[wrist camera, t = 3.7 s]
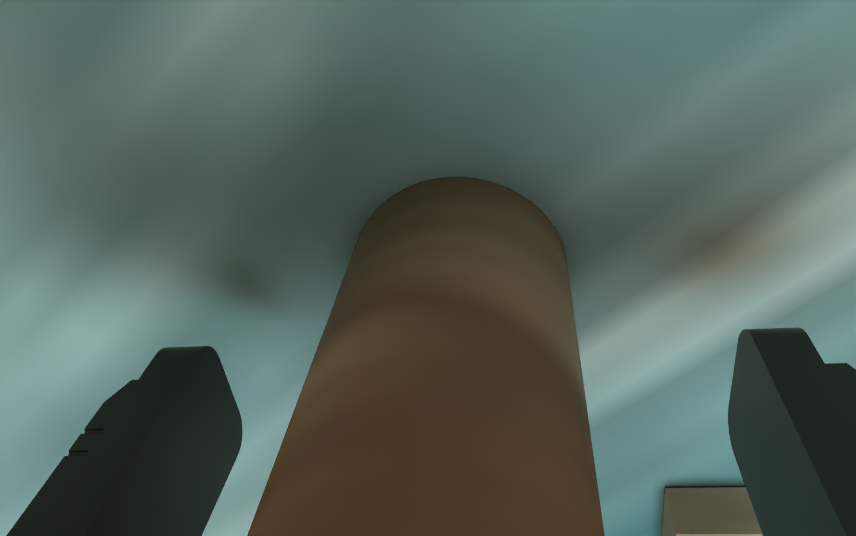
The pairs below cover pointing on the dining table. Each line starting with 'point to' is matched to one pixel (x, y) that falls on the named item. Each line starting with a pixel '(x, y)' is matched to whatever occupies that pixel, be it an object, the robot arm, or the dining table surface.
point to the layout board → (709, 512)
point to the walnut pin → (443, 382)
